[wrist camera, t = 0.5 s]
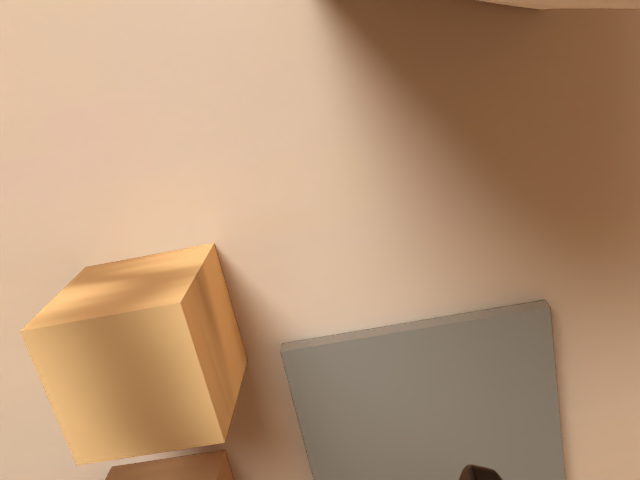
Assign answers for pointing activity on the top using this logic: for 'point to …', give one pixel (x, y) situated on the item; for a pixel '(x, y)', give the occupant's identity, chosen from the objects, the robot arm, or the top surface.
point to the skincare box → (570, 4)
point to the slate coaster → (431, 398)
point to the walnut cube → (177, 468)
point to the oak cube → (141, 355)
